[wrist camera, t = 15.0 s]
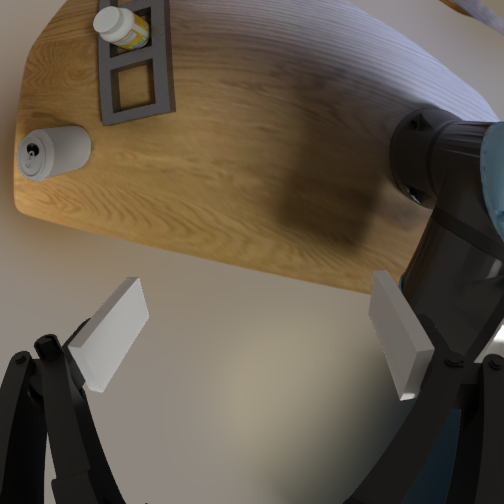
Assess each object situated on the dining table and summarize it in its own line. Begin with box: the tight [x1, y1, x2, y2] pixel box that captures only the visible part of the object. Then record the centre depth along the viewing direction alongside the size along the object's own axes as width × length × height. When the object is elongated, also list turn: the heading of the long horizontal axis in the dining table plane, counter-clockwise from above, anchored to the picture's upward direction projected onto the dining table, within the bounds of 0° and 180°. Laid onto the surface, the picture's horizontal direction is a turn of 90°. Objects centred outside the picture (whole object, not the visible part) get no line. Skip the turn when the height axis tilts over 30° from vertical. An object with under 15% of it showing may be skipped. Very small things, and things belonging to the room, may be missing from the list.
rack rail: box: [98, 0, 176, 126], centre depth 33 cm, size 11×28×2 cm, turn 4°
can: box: [17, 126, 91, 181], centre depth 37 cm, size 8×8×12 cm
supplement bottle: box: [93, 6, 151, 50], centre depth 30 cm, size 5×5×10 cm
